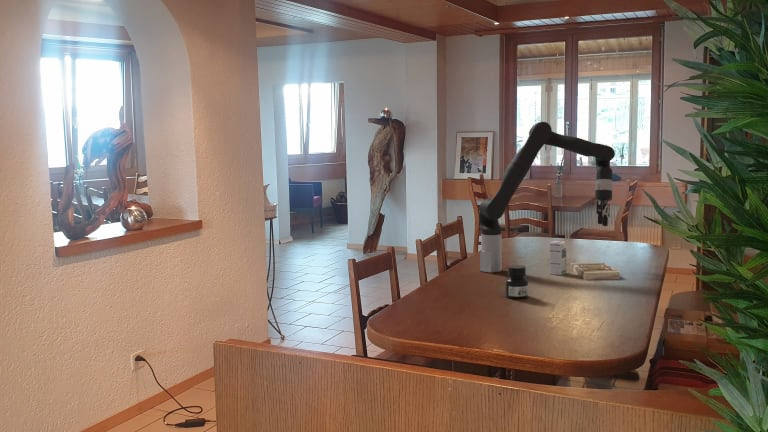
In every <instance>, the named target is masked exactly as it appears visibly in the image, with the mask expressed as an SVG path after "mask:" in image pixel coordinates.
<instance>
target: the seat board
mask: <svg viewBox="0 0 768 432" xmlns="http://www.w3.org/2000/svg"><path fill="white" fill-rule="evenodd" d="M570 270H571V271H573V273H575V274H576V275H578V276H579V277H580V278H582V279H583V280H585V281H586V280H587V281H589V280H593V281H594V280H619V279H620V271H618V270H617V269H615V268H614V267H612V266H610V265H608V264H606V263H605V262H601V261H600V262H598V261H597V262H570Z"/></svg>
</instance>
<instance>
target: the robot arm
mask: <svg viewBox="0 0 768 432" xmlns="http://www.w3.org/2000/svg"><path fill="white" fill-rule="evenodd" d="M552 129H553V128H552V126H551V124H550V123H548V122H547V121H539V122H536V123H535V124H534V125H532V126H531V128H530V129H529V132H528V137H527V139H526V141H525V143H524V144H523V146H522V147H521V148H520V149H519V150H518V152H517V153H516V154H515V155H514V157H513V158H512V159H511V160H510V162H509V163H508V165H507V167H506V168H505V170H504V171H503V175H502V178H501V181H500V182H501V183H500V187H499V189H498V191H497V192H496V193H495V195H494V196H493V198H486V199H483V200H482V202H481V203H480V205H479V209H478V214H479V215H478V216H479V217H478V219H479V220H478V221H479V229H480V233H481V235H480V236H481V241H480V243H481V246H480V247H481V249H480V255H479V256H480V258H479V259H480V260H479V261H480V263H479V265H480V269H479V270H480V272H485V273H490V274H491V273H499V272H502V269H503V268H502V267H503V266H502V258H503V257H502V252H503V251H502V237H503V236H502V234H503V233H502V232H503V231H502V226H500V223H499V219H501V218H502V216H503V215H504V214H505V212H506V210H507V208H508V206H509V204H510V202H511V199H512V198H513V196H514V194H515V192H517V190H518V188H519V187H520V185H521V183H522V182H523V180H524V179H525V178H526V176H527V174H528V173H529V171H530V169H531V167H532V165H533V164H534V162H535V159H536V157H537V155H538V154H539V152H540V151H541V149H542V148H543V147H544V146H545V145H546V146H551V147H556V148H558V149H563V150H566V151H568V152H570V153H571V152H572V153H575V154H577V155H581V156H583V157H587V158H589V157H593V158H595V159H594V161H595V168H596V175H595V176H596V177H595V178H596V179H595V188H594V190H595V191H594V200H595V201H596V211H595V213H596V215H597V224H598V225H602V226H603V227H608V225H609V218H610V216H611V215H610V213H611V211H610V209H611V206H610V204H609V202H611V201H612V200H613V187H614V186H613V169H612V168H611V161H612V160H614V158H615V156H616V152H615V150H614V148H613V147H611V146H610V145H607V144H604V143H596V142H592V141H589V140H586V139H583V138H580V137H577V136H576V137H575V136H570V135H564V134H560V133H558V132H555V131H553V130H552Z"/></svg>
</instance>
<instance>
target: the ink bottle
mask: <svg viewBox="0 0 768 432" xmlns="http://www.w3.org/2000/svg"><path fill="white" fill-rule="evenodd" d="M526 269H527V268H526V266H525V265H522V264H521V265H520V264H514V265H513V264H512V265H508V266H507V276H508V277H507V278H506V279H505V280H504V281H505V282H504V284H505V285H504V290H505V291H504V296H505V297H506V298H508V299H511V300H512V299H514V300H520V299H521V300H523V299H527V298H528V297H529V280H528V279H527V278H526V273H527V272H526Z"/></svg>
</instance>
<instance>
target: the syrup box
mask: <svg viewBox="0 0 768 432" xmlns="http://www.w3.org/2000/svg"><path fill="white" fill-rule="evenodd" d="M548 246H549V253H548V254H549V274H550V275H554V276H562V275H564V274H567V241H563V240H554V241H551V242H549V245H548Z"/></svg>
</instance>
